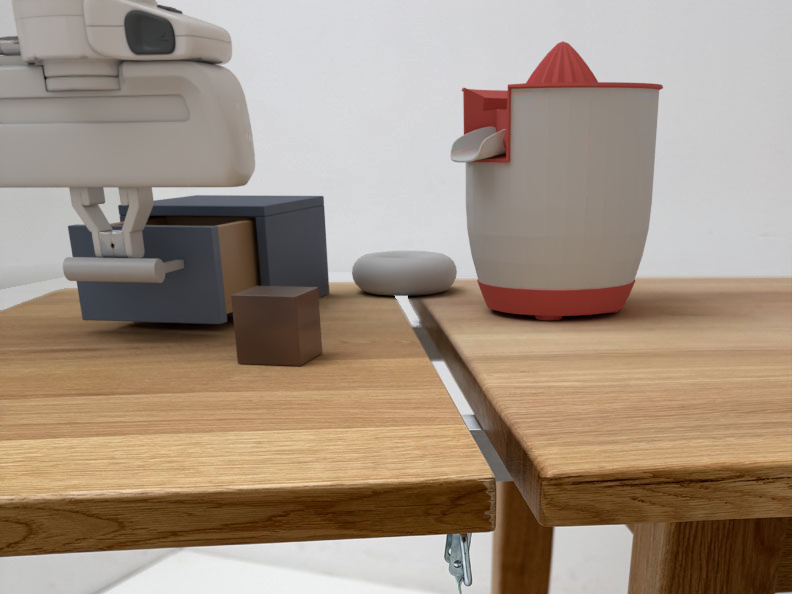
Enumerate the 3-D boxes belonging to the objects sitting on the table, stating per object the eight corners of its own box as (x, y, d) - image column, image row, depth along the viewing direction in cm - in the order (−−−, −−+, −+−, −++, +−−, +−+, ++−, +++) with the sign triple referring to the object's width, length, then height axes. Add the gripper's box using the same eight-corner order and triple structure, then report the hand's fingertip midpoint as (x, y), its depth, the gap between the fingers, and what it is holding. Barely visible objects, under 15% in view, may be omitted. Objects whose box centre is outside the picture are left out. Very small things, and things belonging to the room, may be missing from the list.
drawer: (191, 336, 72) (179, 233, 69) (45, 331, 74) (27, 231, 71) (285, 298, 88) (279, 213, 85) (163, 295, 90) (153, 212, 87)
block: (237, 363, 67) (230, 294, 66) (262, 351, 71) (256, 285, 69) (300, 366, 67) (295, 296, 65) (322, 353, 70) (318, 286, 69)
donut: (371, 284, 104) (337, 296, 95) (370, 248, 102) (336, 257, 93) (467, 287, 101) (442, 299, 93) (467, 250, 100) (441, 259, 91)
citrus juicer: (411, 309, 88) (403, 44, 80) (568, 292, 97) (577, 51, 88) (518, 335, 76) (523, 27, 68) (687, 313, 85) (710, 37, 76)
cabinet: (272, 318, 84) (263, 206, 80) (132, 314, 86) (117, 204, 83) (329, 293, 97) (323, 195, 93) (206, 290, 99) (195, 195, 96)
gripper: (-84, 34, 65) (-38, 261, 71) (213, 23, 62) (237, 264, 67) (-23, 42, 71) (15, 251, 77) (253, 33, 67) (272, 254, 73)
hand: (121, 258), depth 72 cm, fingers closed, pressing on drawer
